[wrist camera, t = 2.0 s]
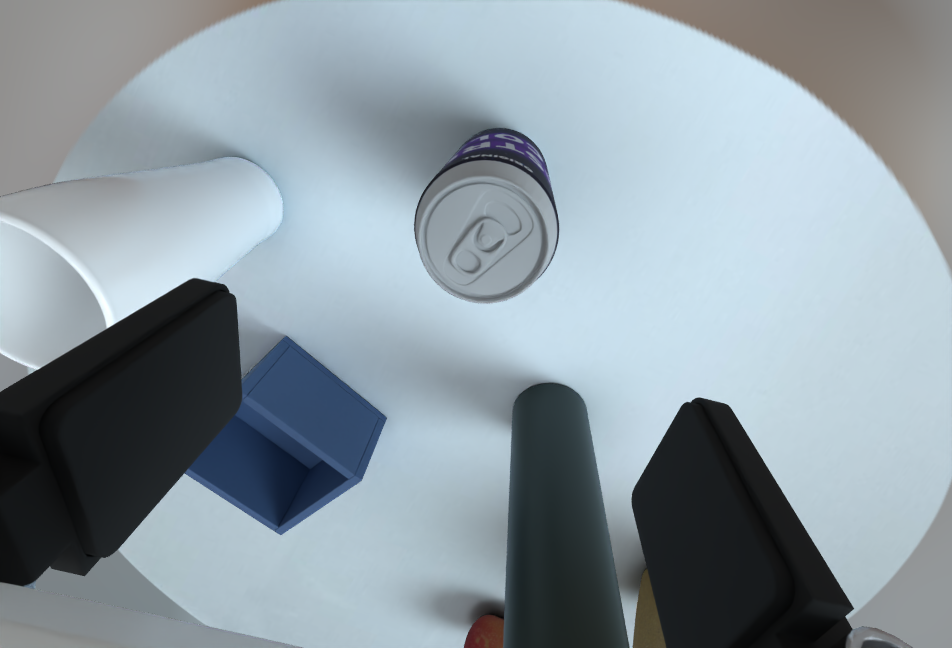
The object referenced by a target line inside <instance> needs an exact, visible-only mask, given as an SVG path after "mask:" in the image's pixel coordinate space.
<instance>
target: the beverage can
mask: <svg viewBox="0 0 952 648" xmlns="http://www.w3.org/2000/svg"><path fill="white" fill-rule="evenodd" d="M414 231H415V239H416V244H417V247H418V250H419V253H420V257H421V260H422V262H423V264H424V267H425V268H426V270H427V272H428V273H429V275H430V276H431V277H432V279H433V280H434V281H435V282H436V283H437V284H438V285H439V286H440V287H441V288H442V289H444V290H445V291H447V292H448V293H450V294H451V295H453V296H455V297H457V298H460V299H463V300H466V301H469V302H475V303H497V302H501V301H505V300H508V299H511V298H513V297H515V296H517V295H519V294H520V293H522V292H524V291H525V290H526V289H527V288H529V287H530V286H531V285H532V284H533V283H534V282H535V281H536V280H537V279H538V278H539V277H540V276H541V275H542V274H543V273H544V271H545V270H546V269H547V267H548V266H549V264H550V262H551V260H552V258H553V256H554V254H555V251H556V248H557V244H558V238H559V220H558V214H557V210H556V205H555V201H554V197H553V192H552V188H551V183H550V179H549V174H548V170H547V166H546V162H545V159H544V157H543V155H542V153H541V151H540V150H539V148H538V147H537V146H536V145H535V143H534V142H533V141H532V140H530V139H529V138H528V137H526V136H525V135H523V134H521V133H519V132H517V131H514V130H511V129H506V128H493V129H488V130H485V131H482V132H480V133H478V134H476V135H474V136H473V137H471V138H470V139H469V140H467V141H466V142H465V143H464V144H463V145H462V147H461V148H460V149H459V150H458V151H457V152H456V153H455V155H454V156H453V157H452V158H451V159H450V160H449V161H448V163H447V164H446V165H445V166H444V167H443V168H442V169H441V171H440V172H439V173H438V174H437V175H436V176H435V177H434V179H433V180H432V181H431V182H430V183H429V185H428V186H427V187H426V189H425V190H424V192H423V194H422V196H421V198H420V200H419V203H418V206H417V209H416V214H415V222H414Z"/></svg>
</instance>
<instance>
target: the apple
mask: <svg viewBox="0 0 952 648" xmlns="http://www.w3.org/2000/svg"><path fill="white" fill-rule="evenodd" d="M503 636H504V619H502V618H500V617H497V616H495V615H483V616H481V617H480V618H478V619H477V620H476V621H475V622H474V624H473V625H472V627H471V628H470V630H469V632H468V635H467V637H466V641H465V644H464V648H503Z"/></svg>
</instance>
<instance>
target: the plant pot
mask: <svg viewBox="0 0 952 648" xmlns="http://www.w3.org/2000/svg"><path fill="white" fill-rule="evenodd" d="M633 648H666V645H665V640H664V636H663V632H662V628H661V624H660V620H659V616H658V612H657V607H656V603H655V599H654V595H653V591H652V587H651V583H650V578H649V574H648V570H647V568H646V569H645V571H644V572H643V574H642V578H641V583H640V589H639V595H638V602H637V609H636V618H635V628H634V639H633Z"/></svg>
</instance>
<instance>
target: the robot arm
mask: <svg viewBox="0 0 952 648" xmlns="http://www.w3.org/2000/svg"><path fill="white" fill-rule="evenodd" d="M241 402H242V381H241V365H240V350H239V334H238V318H237V303H236V298H235V296H234V295H233V294H231V293H229V290H228V288H227V286H225V285H224V284H220V283H215V282H211V281H207V280H203V279H199V278H192V279H189V280H188V281H186V282H184V283H183V284H181V285H179V286H178V287H176V288H174V289H173V290H171V291H169V292H167V293H166V294H164V295H162V296H161V297H159V298H157V299H156V300H154V301H152V302H151V303H149V304H147V305H146V306H144V307H142V308H141V309H139V310H137V311H136V312H134V313H132V314H130V315H129V316H127V317H125V318H124V319H122V320H120V321H119V322H117V323H115V324H114V325H112V326H110V327H109V328H107V329H105V330H104V331H102V332H100V333H99V334H97V335H95V336H93V337H92V338H90V339H88V340H87V341H85V342H83V343H82V344H80V345H78V346H77V347H75V348H73V349H72V350H70V351H68V352H67V353H65V354H63V355H62V356H60V357H58V358H56V359H55V360H53V361H51V362H50V363H48V364H46V365H45V366H43V367H41V368H40V369H38V370H36V371H35V372H33V373H31V374H30V375H28V376H26V377H25V378H23V379H21V380H20V381H18V382H16V383H14V384H13V385H11V386H9V387H8V388H6V389H4V390H3V391H1V392H0V648H302V647H298V646H293V645H289V644H285V643H280V642H276V641H271V640H267V639H262V638H258V637H253V636H249V635H244V634H240V633H235V632H231V631H226V630H222V629H217V628H213V627H208V626H204V625H198V624H195V623H189V622H185V621H181V620H176V619H172V618H167V617H163V616H158V615H154V614H149V613H145V612H140V611H135V610H131V609H127V608H122V607H118V606H113V605H109V604H104V603H100V602H95V601H90V600H86V599H81V598H77V597H71V596H67V595H62V594H57V593H51V592H47V591H41V590H37V589H35V585H36V580H37V579H38V578H39V576H41V574H43V572H44V571H45V570H46V569H47V568H48V567H49V566H50V567H51V568H52V569H55V570H60V571H64V572H68V573H73V574H77V575H82V576H85V575H86V574H87V573H88V572H89V571H90V569H91V568H92V567H93V566H94V565H95V564H96V563H97V562H98V561H99V559H100V558H101V557H103V558H106V557H108V556H110V555H111V554H113V553H114V552H115V551H117V550H118V549H119V548H120V546H121V545H122V544H123V543H124V542H125V541H126V539H127V538H128V537H129V536H130V535H131V534H132V533H133V531H134V530H135V529H136V528H137V527H138V526H139V525H140V523H141V522H142V521H143V520H144V519H145V518H146V517H147V515H148V514H149V513H150V512H151V511H152V510H153V508H154V507H155V506H156V505H157V504H158V503H159V502H160V500H161V499H162V498H163V497H164V496H165V495H166V494H167V492H168V491H169V490H170V489H171V488H172V487H173V485H174V484H175V483H176V482H177V481H178V480H179V479H180V477H181V476H182V475H183V474H184V473H185V472H186V471H187V469H188V468H189V467H190V466H191V465H192V464H193V463H194V461H195V460H196V459H197V458H198V457H199V456H200V454H201V453H202V452H203V451H204V450H205V449H206V448H207V446H208V445H209V444H210V443H211V442H212V441H213V440H214V438H215V437H216V436H217V435H218V434H219V433H220V432H221V430H222V429H223V428H224V427H225V426H226V425H227V423H228V422H229V421H230V420H231V419H232V418H233V417H234V415H235V414H236V413H237V411H238V410H239V408H240V405H241ZM632 508H633V512H634V517H635V521H636V525H637V529H638V533H639V537H640V541H641V545H642V550H643V554H644V558H645V562H646V566H647V570H648V574H649V578H650V583H651V587H652V591H653V595H654V599H655V603H656V607H657V612H658V616H659V620H660V624H661V628H662V632H663V636H664V640H665V645H666V648H913V647H911V646H910V645H908V644H907V643H905V642H903V641H902V640H900V639H899V638H897V637H895V636H894V635H891V634H889V633H887V632H884V631H882V630H879V629H877V628H870V627H864V626H862V627H859V628H856V629H852V628H851V626H850V624H849V622H848V621H847V619H846V617H845V616H846V615H847V614H849V613H850V612H851V611H852V610H853V609H854V608H853V606H852V604H851V603H850V601H849V600H848V598H847V596H846V595H845V593H844V591H843V590H842V588H841V587H840V585H839V583H838V582H837V580H836V578H835V577H834V575H833V574H832V572H831V570H830V569H829V567H828V565H827V564H826V562H825V560H824V559H823V557H822V556H821V554H820V552H819V551H818V549H817V547H816V546H815V544H814V543H813V541H812V539H811V538H810V536H809V534H808V533H807V531H806V530H805V528H804V526H803V525H802V523H801V521H800V520H799V518H798V517H797V515H796V513H795V512H794V510H793V508H792V507H791V505H790V503H789V502H788V500H787V499H786V497H785V495H784V494H783V492H782V490H781V489H780V487H779V486H778V484H777V482H776V481H775V479H774V477H773V476H772V474H771V473H770V471H769V469H768V468H767V466H766V464H765V463H764V461H763V459H762V458H761V456H760V455H759V453H758V451H757V450H756V448H755V446H754V445H753V443H752V442H751V440H750V438H749V437H748V435H747V433H746V432H745V430H744V429H743V427H742V425H741V424H740V422H739V420H738V419H737V417H736V415H735V414H734V412H733V411H732V409H731V408H730V407H729V405H727V404H724V403H720V402H716V401H712V400H708V399H703V398H695V399H694V400H692V401H691V403H690V402H686V403H684V404H683V405H682V406H681V408H680V409H679V411H678V413H677V415H676V416H675V418H674V420H673V422H672V423H671V425H670V427H669V428H668V430H667V432H666V434H665V435H664V437H663V439H662V441H661V442H660V444H659V446H658V448H657V449H656V451H655V453H654V454H653V456H652V458H651V460H650V461H649V463H648V465H647V467H646V468H645V470H644V472H643V474H642V475H641V477H640V479H639V481H638V482H637V484H636V486H635V488H634V490H633V493H632Z"/></svg>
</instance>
